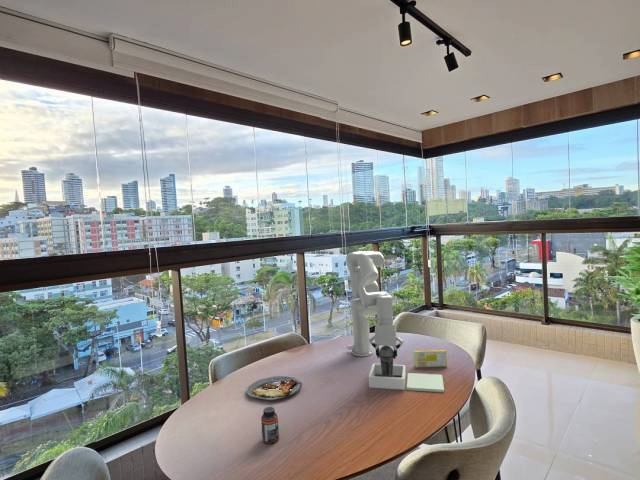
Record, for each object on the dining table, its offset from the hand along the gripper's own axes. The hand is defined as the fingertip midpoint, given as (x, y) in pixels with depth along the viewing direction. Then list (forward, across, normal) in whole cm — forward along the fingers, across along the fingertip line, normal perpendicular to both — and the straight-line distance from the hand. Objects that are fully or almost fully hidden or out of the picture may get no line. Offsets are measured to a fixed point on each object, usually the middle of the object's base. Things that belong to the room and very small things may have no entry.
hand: (386, 356), depth 173 cm
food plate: (+12, -51, -19) cm, 55 cm away
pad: (+11, +17, -1) cm, 21 cm away
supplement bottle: (+11, -37, -56) cm, 68 cm away
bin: (+12, 0, -1) cm, 12 cm away
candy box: (+12, +20, +20) cm, 31 cm away
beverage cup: (+11, 0, 0) cm, 11 cm away
